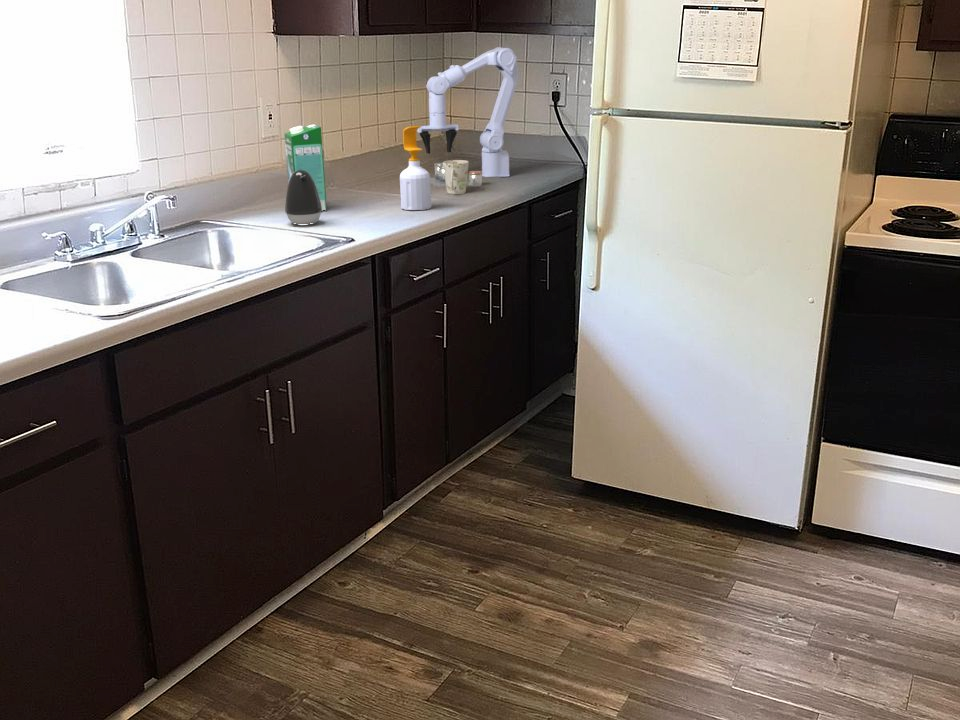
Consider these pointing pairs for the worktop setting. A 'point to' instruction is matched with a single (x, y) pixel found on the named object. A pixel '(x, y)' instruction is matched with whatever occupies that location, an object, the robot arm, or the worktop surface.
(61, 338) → the worktop surface
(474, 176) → the cylinder
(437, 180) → the slate board
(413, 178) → the soap bottle
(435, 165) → the tin left
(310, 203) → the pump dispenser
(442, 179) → the tin middle
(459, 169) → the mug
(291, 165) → the milk carton
